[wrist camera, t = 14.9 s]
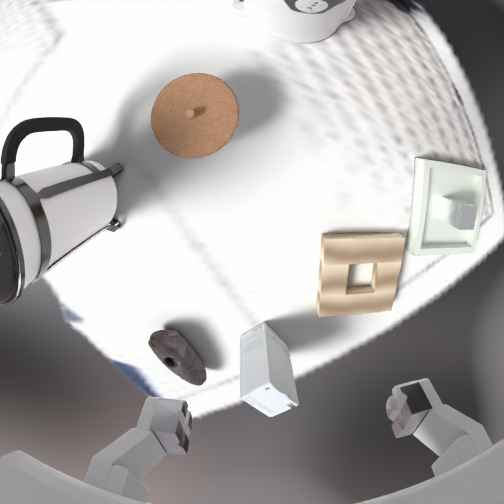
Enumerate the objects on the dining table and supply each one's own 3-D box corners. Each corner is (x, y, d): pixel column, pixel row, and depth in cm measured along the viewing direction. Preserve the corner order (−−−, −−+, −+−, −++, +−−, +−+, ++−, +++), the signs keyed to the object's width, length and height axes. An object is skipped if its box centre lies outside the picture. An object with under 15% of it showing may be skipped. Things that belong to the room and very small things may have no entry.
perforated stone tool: (216, 368, 54) (212, 392, 47) (195, 374, 55) (190, 398, 48) (174, 316, 49) (164, 340, 42) (153, 324, 50) (142, 348, 43)
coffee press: (153, 202, 41) (18, 308, 13) (91, 250, 44) (-20, 354, 16) (102, 116, 35) (-59, 121, 7) (46, 174, 38) (-85, 226, 10)
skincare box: (239, 334, 50) (235, 396, 36) (266, 319, 49) (269, 381, 35) (266, 359, 52) (268, 419, 39) (291, 346, 51) (300, 406, 37)
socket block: (321, 234, 42) (325, 239, 40) (398, 232, 42) (405, 237, 40) (316, 309, 48) (318, 317, 45) (386, 303, 47) (391, 310, 45)
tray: (414, 157, 37) (424, 159, 34) (476, 168, 36) (486, 170, 34) (405, 249, 43) (413, 255, 40) (465, 247, 43) (474, 252, 40)
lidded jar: (187, 76, 33) (169, 59, 24) (254, 101, 35) (254, 88, 26) (158, 140, 37) (132, 141, 28) (222, 166, 39) (213, 173, 30)
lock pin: (441, 196, 38) (462, 205, 33) (456, 197, 38) (477, 206, 32) (438, 218, 40) (458, 229, 34) (454, 219, 40) (473, 229, 34)
